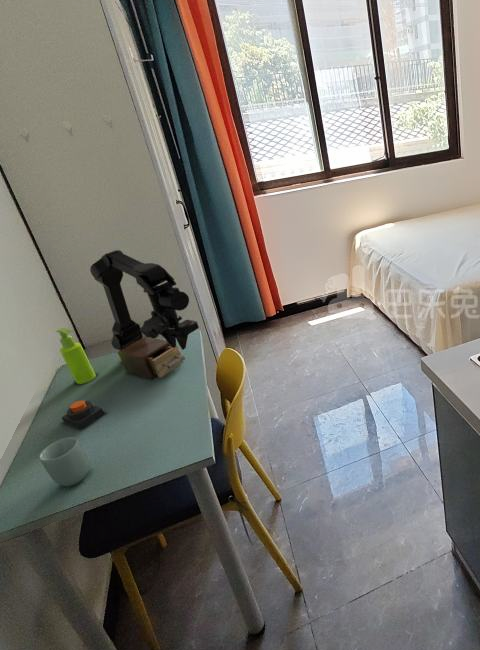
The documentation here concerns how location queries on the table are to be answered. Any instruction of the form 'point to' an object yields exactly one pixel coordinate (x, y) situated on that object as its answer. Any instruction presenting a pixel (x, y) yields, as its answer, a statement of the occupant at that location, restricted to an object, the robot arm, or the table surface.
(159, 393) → the table surface
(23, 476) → the table surface
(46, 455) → the cup
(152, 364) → the drawer
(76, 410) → the button
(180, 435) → the table surface
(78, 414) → the control block
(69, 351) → the soap dispenser
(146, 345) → the cabinet
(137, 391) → the table surface
